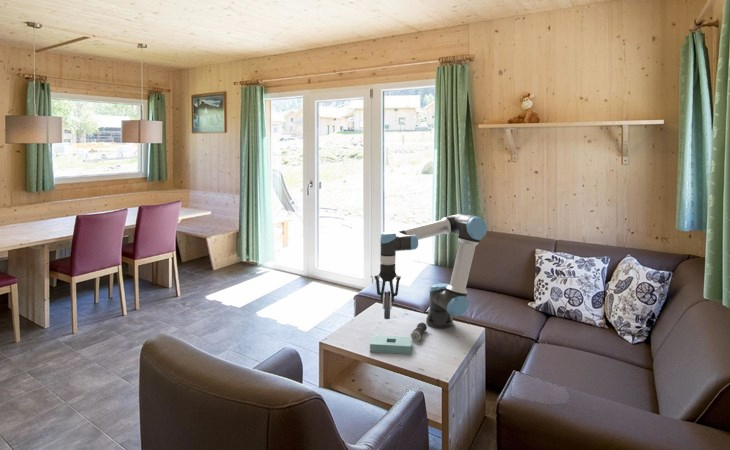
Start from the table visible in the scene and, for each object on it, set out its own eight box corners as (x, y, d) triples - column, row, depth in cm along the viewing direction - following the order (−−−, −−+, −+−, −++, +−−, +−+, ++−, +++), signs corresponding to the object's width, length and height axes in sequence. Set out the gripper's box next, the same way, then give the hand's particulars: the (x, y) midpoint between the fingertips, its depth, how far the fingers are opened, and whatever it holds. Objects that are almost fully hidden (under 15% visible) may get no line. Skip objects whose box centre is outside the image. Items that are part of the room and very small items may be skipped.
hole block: (411, 344, 226) (411, 337, 226) (410, 354, 215) (410, 346, 215) (372, 342, 229) (372, 335, 228) (370, 351, 218) (370, 344, 218)
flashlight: (417, 330, 245) (417, 320, 244) (427, 331, 243) (427, 322, 243) (410, 340, 231) (410, 330, 230) (420, 342, 229) (420, 332, 228)
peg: (390, 317, 227) (390, 290, 225) (389, 319, 224) (390, 292, 222) (384, 316, 227) (384, 290, 225) (383, 319, 224) (384, 292, 222)
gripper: (404, 262, 223) (403, 306, 227) (373, 260, 226) (372, 304, 230) (403, 265, 216) (402, 311, 220) (370, 264, 219) (370, 309, 222)
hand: (387, 308), depth 225 cm, fingers closed on peg, 3 cm apart
